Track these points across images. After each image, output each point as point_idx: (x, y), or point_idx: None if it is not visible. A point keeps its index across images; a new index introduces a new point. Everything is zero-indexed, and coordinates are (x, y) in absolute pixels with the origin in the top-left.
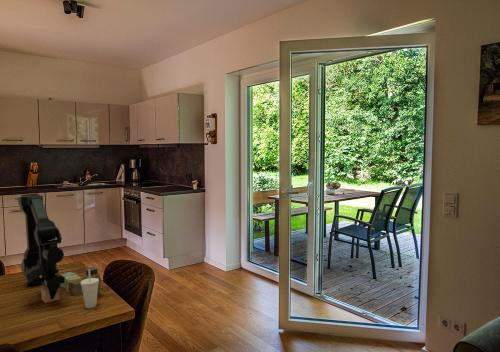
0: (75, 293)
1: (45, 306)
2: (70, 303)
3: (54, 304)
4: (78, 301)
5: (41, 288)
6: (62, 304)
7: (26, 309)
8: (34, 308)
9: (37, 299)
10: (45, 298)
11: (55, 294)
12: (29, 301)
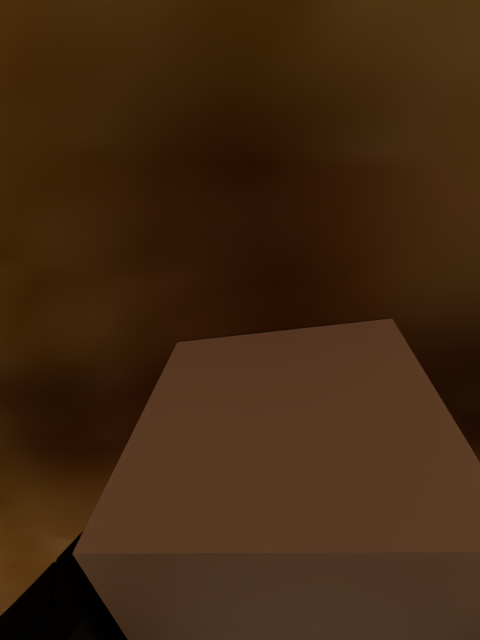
0: None
1: (41, 329)
2: (35, 523)
3: (70, 420)
4: None
5: (435, 515)
6: (35, 475)
7: (11, 22)
8: (14, 179)
9: (453, 259)
10: (155, 395)
11: None
12: (472, 102)
